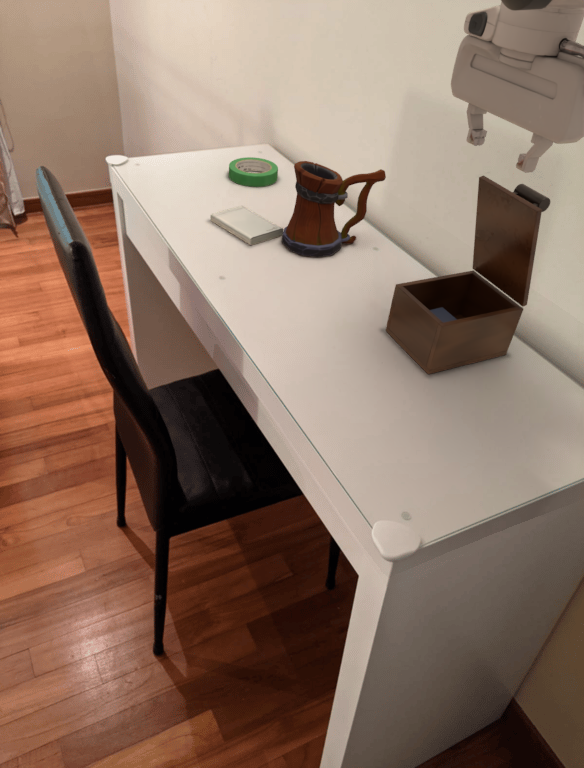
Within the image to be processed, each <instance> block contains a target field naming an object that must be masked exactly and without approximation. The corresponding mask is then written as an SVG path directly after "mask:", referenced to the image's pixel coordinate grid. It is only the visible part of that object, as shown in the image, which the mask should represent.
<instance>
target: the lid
mask: <svg viewBox="0 0 584 768" xmlns="http://www.w3.org/2000/svg"><path fill="white" fill-rule="evenodd" d="M477 187H478V188H477V200H476V214H475V228H474V240H473V241H474V243H473V256H472V257H473V258H472V270H473V271H475V272H476V273H477V274H479V275H480V276H481V277H483V278H484V279H485V280H487V281H488V282H489V283H490V284H492V285H493V286H494V287H496V288H497V289H498V290H500V291H501V292H502V293H504V294H505V295H506V296H508V297H509V298H510V299H511V300H513V301H514V302H515V303H517V304H518V305H519V306H521V307H522V308H524V307H525V306H527V305H528V303H529V302H528V300H529V295H530V289H531V282H532V275H533V268H534V263H535V257H536V250H537V244H538V239H539V238H538V237H539V231H540V225H541V218H542V213H544V212H546V211H547V210H548V209H549V207H550V205H551V199H550V197H547V196H546V195H544V194H543V193H540V192H539V191H537V190H535V189H533V188H531V187H530V186H528V185H526V184H524V183H519V184H518V185H516V187H515V188H514V189H513V191H511V190H509V189H508V188H506V187H504V186H503V185H501V184H499V183H497V182H496V181H493V179H491V178H489V177H487V176H486V175H480V176H478V185H477Z"/></svg>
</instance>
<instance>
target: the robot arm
mask: <svg viewBox="0 0 584 768" xmlns="http://www.w3.org/2000/svg"><path fill="white" fill-rule="evenodd" d="M583 21H584V0H500V4H498V5H493V6H490V7H487V8H482V9H479V10H473V11H471V12H469V13H467V15H466V16H465V19H464V23H463V31H464V33H465V34H467V35H465V37H463V39H462V40H461V42H460V44H459V46H458V49H457V53H456V57H455V61H454V65H453V68H452V74H451V78H450V89H451V94H452V96H453V97H454V98H456V99H459V100H462V101H463V102H465V103H468V105H467V109H466V117H467V118H466V119H467V125H468V132H467V136H466V142H467V143H468V144H470V145H472V146H475V147H477V146H479V147H480V146H482V145H483V144H484V143H485V141H486V140H485V138H487V135H488V134H487V133H488V130H486V129H484V115H486V114H487V113H489V114H491V115H493V116H496V117H497V118H500V119H502V120H504V121H506V122H509V123H511V124H513V125H515V126H518V127H519V128H522V129H524V130H526V131H528V132H530V133H532V136H531V139H530V143H532V144H533V145H532V146H531V147H530V148H529V150H528V151H527V152H526V153H519V155H518V157H517V163H516V164H515V167H516V169H517V170H519V171H520V172H523V173H525V174H527V173H533V172H534V171H535V170H536V168H537V166H538V162H539V159H540V158H541V157H542V156H543V155H544V154H545V153H547V151H548V150H549V149H550V148H552V147H553V143H554V144H558V145H563V144H564V145H565V144H574V143H578V142H579V141H580V140H582V139H583V138H584V45H583V44H580V43H578V42H577V38H578V36H579V33H580V30H581V27H582V23H583Z"/></svg>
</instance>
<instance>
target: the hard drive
mask: <svg viewBox="0 0 584 768" xmlns="http://www.w3.org/2000/svg"><path fill="white" fill-rule="evenodd" d="M209 216H210V220H209V221H211V222H212V223H214V224H216V225H217V226H219V227H220V228H222V229H224V230H225V231H226V232H228V233H230V234H232V235H233V236H235V237H237V238H238V239H240V240H241V241H243V242H245V243H246V244H248V245H250V246H253V245H256V244H260V243H263V242H267V241H269V240H272V239H275V238H278V237H282V235H283V231H284V228H282V226H279V225H277V224H275V223H274V222H272V221H270V220H269V219H268V218H265V217H263V216H262V215H260V214H258V213H256V212H255V211H253V210H251V209H249V208H248V207H246V206H244V205H239V206H235V207H231V208H228V209H224V210H220V211H217V212H213V213H211V214H210V215H209Z"/></svg>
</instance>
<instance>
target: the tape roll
mask: <svg viewBox="0 0 584 768" xmlns="http://www.w3.org/2000/svg"><path fill="white" fill-rule="evenodd" d="M278 176H279V167H278V165H277V164H276V163H275V162H273V161H271V160H270V159H266V158H261V157H251V156H250V157H249V156H247V157H240V158H239V157H238V158H236V159H234V160H232V161H230V162H229V164H228V178H229V180H230V181H232V182H233V183H235V184H237V185H240V186H245V187H250V188H261V187H262V188H263V187H268V186H271V185H274V184H275V183H276V182H278Z"/></svg>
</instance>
